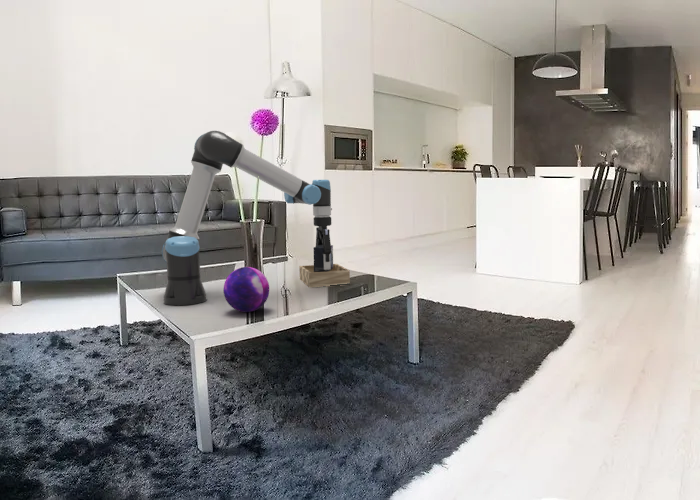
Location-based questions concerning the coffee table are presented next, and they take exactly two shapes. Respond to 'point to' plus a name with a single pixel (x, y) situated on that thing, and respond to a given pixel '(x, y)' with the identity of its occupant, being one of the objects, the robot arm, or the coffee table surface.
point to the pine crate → (324, 276)
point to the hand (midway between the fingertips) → (323, 267)
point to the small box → (321, 259)
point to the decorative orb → (246, 289)
